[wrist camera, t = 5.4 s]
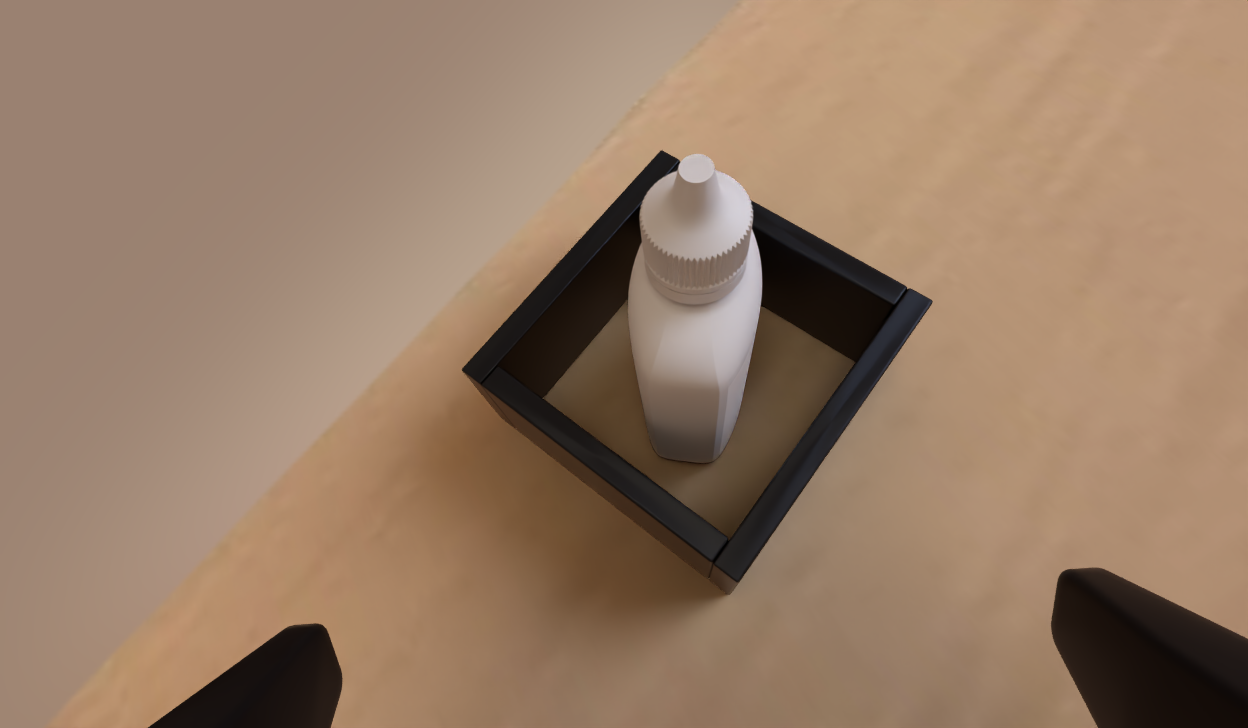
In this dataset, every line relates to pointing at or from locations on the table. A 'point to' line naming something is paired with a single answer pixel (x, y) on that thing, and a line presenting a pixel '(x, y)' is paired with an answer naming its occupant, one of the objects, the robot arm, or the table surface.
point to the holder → (599, 285)
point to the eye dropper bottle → (694, 308)
